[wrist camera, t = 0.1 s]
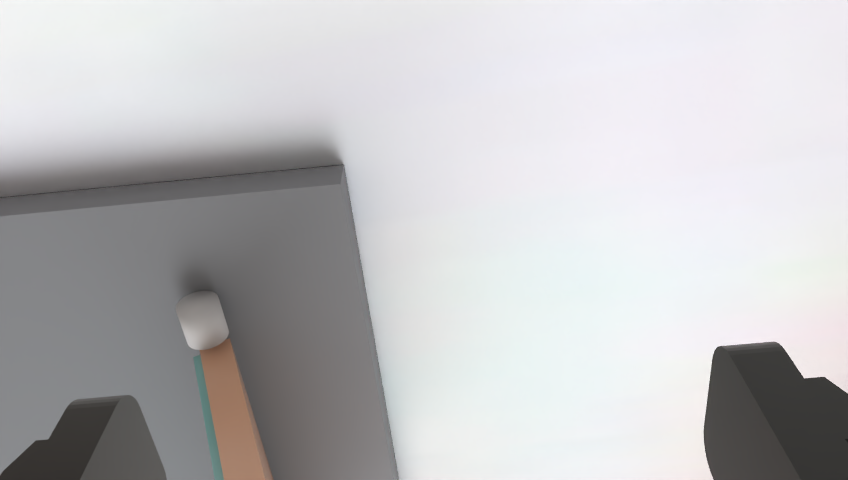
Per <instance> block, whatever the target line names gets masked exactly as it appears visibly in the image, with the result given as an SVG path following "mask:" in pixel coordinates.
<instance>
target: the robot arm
mask: <svg viewBox="0 0 848 480" xmlns="http://www.w3.org/2000/svg"><path fill="white" fill-rule="evenodd" d="M704 444H705V452H706V457H707V461H708V465H709V468H710V471H711V474H712V476H713V479H714V480H848V394H847V393H846V392H844V391H843V390H842V389H840V388H839V387H838V386H836V385H835V384H833V383H832V382H831V381H829V380H828V379H826V378H825V377H817V378H805V379H804V378H803V376H802V375H801V373H800V372H799V370H798V369H797V367H796V366H795V364H794V363H793V361H792V360H791V358H790V357H789V355H788V354H787V353H786V351H785V350H784V348H783V347H782V346H781V345H780V344H778V343H777V342H764V343H753V344H741V345H729V346H719V347H717V348H716V350H715V351H714V354H713V359H712V367H711V375H710V383H709V391H708V399H707V407H706V415H705V423H704ZM0 480H167V478H166V473H165V470H164V467H163V464H162V462H161V459H160V456H159V454H158V451H157V449H156V446H155V444H154V441H153V439H152V436H151V434H150V431H149V428H148V426H147V423H146V421H145V418H144V416H143V413H142V411H141V408H140V406H139V404H138V402H137V400H136V399H135V398H134V397H133V396H131V395H121V396H109V397H97V398H86V399H77V400H74V401H72V402H71V403H70V404H69V405H68V406H67V408H66V409H65V411H64V413H63V415H62V416H61V418H60V420H59V422H58V423H57V425H56V427H55V429H54V430H53V432H52V434H51V436H50V437H49V439H48V440H36V441H35V442H34V443H32V444H31V445H30V446H29V447H28V448H27V449H26V450H25V451H24V452H23V453H22V454H21V455H20V456H19V457H17V458H16V459H15V460H14V461H13V462H12V463H11V464H10V465H9V466H8V467H7V468H6V469H5V470H4V471H3V472H2V473H1V475H0Z"/></svg>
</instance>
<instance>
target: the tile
mask: <svg viewBox="0 0 848 480" xmlns="http://www.w3.org/2000/svg"><path fill="white" fill-rule="evenodd" d="M193 359H194V365H195V370H196V376H197V382H198V388H199V393H200V399H201V405H202V410H203V416H204V422H205V427H206V433H207V439H208V444H209V450H210V456H211V461H212V467H213V473H214V479H215V480H274V479H273V476H272V473H271V469H270V466H269V463H268V460H267V457H266V453H265V450H264V447H263V444H262V440H261V437H260V434H259V431H258V428H257V424H256V421H255V418H254V415H253V411H252V408H251V405H250V402H249V399H248V395H247V392H246V389H245V386H244V382H243V379H242V376H241V373H240V370H239V366H238V363H237V360H236V357H235V353H234V350H233V347H232V344H231V341H230V338H229V339H226V340H224V341H223V342H222V343H221V344H219V345H218V346H216V347H213V348H210V349H206V350H200V355H198V356H195V357H193Z"/></svg>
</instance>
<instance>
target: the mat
mask: <svg viewBox="0 0 848 480" xmlns="http://www.w3.org/2000/svg"><path fill="white" fill-rule="evenodd" d="M229 338H230V341H231V344H232V347H233V350H234V353H235V357H236V360H237V363H238V366H239V370H240V373H241V376H242V379H243V382H244V386H245V389H246V392H247V395H248V399H249V402H250V405H251V408H252V411H253V415H254V418H255V421H256V424H257V428H258V431H259V434H260V437H261V440H262V444H263V447H264V450H265V453H266V457H267V460H268V463H269V466H270V469H271V473H272V476H273V479H274V480H399V478H398V472H397V466H396V461H395V455H394V449H393V444H392V438H391V432H390V426H389V421H388V415H387V409H386V404H385V398H384V392H383V386H382V381H381V375H380V369H379V363H378V358H377V352H376V346H375V341H374V335H373V329H372V323H371V318H370V312H369V306H368V301H367V295H366V289H365V283H364V278H363V272H362V266H361V261H360V255H359V249H358V243H357V238H356V232H355V226H354V221H353V215H352V209H351V203H350V198H349V192H348V186H347V181H346V175H345V169H344V165H336V166H325V167H315V168H305V169H294V170H284V171H273V172H263V173H253V174H242V175H232V176H221V177H211V178H200V179H190V180H180V181H169V182H159V183H148V184H138V185H128V186H117V187H107V188H96V189H86V190H75V191H65V192H55V193H44V194H34V195H23V196H13V197H3V198H0V475H1V473H2V472H3V471H4V470H5V469H6V468H7V467H8V466H9V465H10V464H11V463H12V462H13V461H14V460H15V459H16V458H17V457H19V456H20V455H21V454H22V453H23V452H24V451H25V450H26V449H27V448H28V447H29V446H30V445H31V444H32V443H34V442H35V441H36V440H48V439H49V437H50V436H51V434H52V432H53V430H54V429H55V427H56V425H57V423H58V422H59V420H60V418H61V416H62V415H63V413H64V411H65V409H66V408H67V406H68V405H69V404H70V403H71V402H72V401H74V400H77V399H86V398H97V397H109V396H121V395H131V396H133V397H134V398H135V399H136V400H137V402H138V404H139V406H140V408H141V411H142V413H143V416H144V418H145V421H146V423H147V426H148V428H149V431H150V434H151V436H152V439H153V441H154V444H155V446H156V449H157V451H158V454H159V456H160V459H161V462H162V464H163V467H164V470H165V473H166V478H167V480H215V479H214V473H213V467H212V461H211V456H210V450H209V444H208V439H207V433H206V427H205V422H204V416H203V410H202V405H201V399H200V393H199V388H198V382H197V376H196V370H195V365H194V359H193V357H195V356H198V355H200V350H206V349H210V348H213V347H216V346H218V345H219V344H221V343H222V342H223V341H224V340H226V339H229Z"/></svg>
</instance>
